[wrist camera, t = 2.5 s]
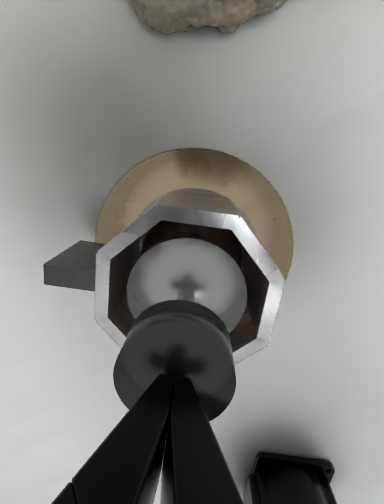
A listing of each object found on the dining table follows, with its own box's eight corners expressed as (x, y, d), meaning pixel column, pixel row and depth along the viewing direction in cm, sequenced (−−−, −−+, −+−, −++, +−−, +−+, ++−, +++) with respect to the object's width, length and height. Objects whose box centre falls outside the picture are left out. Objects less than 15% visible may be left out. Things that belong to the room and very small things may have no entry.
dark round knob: (256, 244, 12) (294, 309, 7) (234, 348, 14) (251, 464, 9) (133, 227, 12) (78, 279, 7) (126, 333, 14) (77, 439, 9)
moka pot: (314, 164, 17) (384, 167, 10) (268, 346, 21) (297, 432, 14) (98, 134, 17) (29, 118, 10) (93, 321, 21) (41, 396, 15)
